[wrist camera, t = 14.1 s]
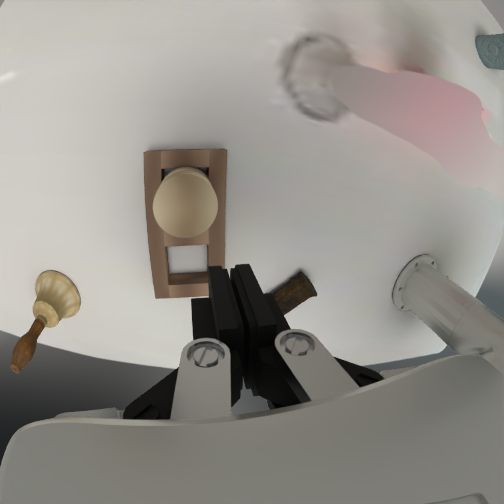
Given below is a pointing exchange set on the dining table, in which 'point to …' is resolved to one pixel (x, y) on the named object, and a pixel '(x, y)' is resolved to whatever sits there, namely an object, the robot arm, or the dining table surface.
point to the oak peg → (185, 202)
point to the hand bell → (46, 313)
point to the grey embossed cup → (491, 50)
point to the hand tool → (294, 293)
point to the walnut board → (160, 239)
